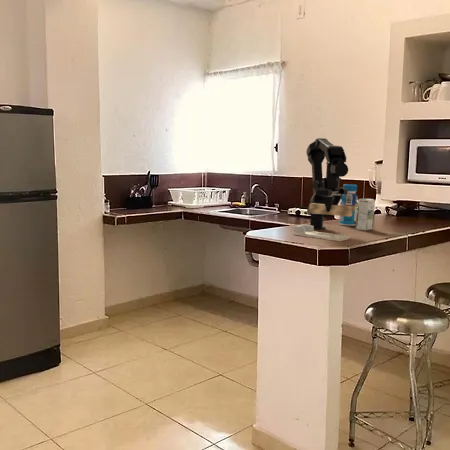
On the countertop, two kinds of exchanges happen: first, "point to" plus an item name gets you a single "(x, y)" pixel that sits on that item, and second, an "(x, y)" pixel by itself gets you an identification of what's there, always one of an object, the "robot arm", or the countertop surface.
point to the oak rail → (334, 209)
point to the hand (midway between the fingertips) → (330, 211)
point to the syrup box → (365, 214)
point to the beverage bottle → (349, 200)
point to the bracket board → (317, 233)
